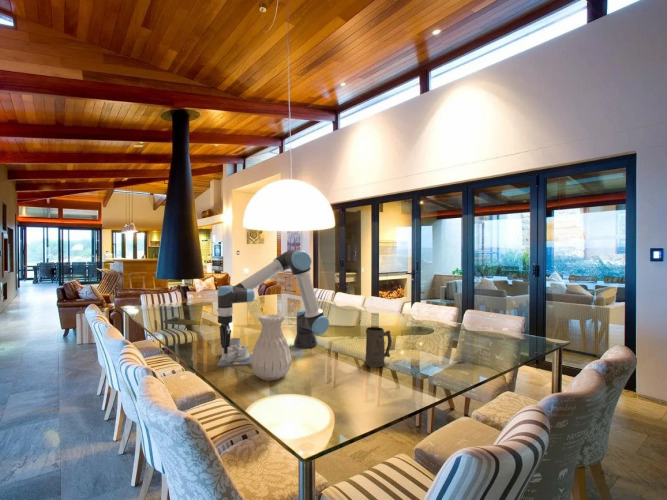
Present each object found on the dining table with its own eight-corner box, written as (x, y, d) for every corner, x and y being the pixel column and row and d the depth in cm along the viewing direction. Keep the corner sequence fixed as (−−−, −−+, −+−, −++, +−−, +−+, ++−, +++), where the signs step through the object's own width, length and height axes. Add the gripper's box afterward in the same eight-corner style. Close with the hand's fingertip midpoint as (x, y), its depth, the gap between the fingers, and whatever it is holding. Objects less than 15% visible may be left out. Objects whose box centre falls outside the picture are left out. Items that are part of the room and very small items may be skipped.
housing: (257, 355, 213) (257, 342, 213) (254, 365, 195) (254, 351, 195) (222, 356, 210) (222, 344, 210) (216, 366, 192) (216, 352, 192)
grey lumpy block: (232, 351, 209) (232, 344, 209) (250, 351, 208) (250, 345, 208) (217, 362, 188) (217, 354, 188) (237, 362, 187) (237, 355, 187)
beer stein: (370, 368, 190) (373, 330, 191) (360, 362, 200) (362, 326, 200) (394, 366, 197) (396, 329, 198) (382, 360, 207) (385, 325, 207)
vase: (273, 387, 164) (273, 322, 164) (242, 379, 175) (242, 317, 174) (299, 374, 181) (299, 315, 181) (270, 367, 192) (270, 311, 191)
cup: (239, 356, 212) (239, 341, 212) (222, 356, 212) (222, 340, 212) (242, 352, 219) (242, 337, 219) (226, 352, 219) (226, 337, 219)
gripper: (214, 313, 195) (214, 357, 195) (221, 317, 184) (221, 363, 184) (228, 312, 199) (228, 354, 199) (236, 316, 188) (235, 361, 188)
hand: (225, 359), depth 192 cm, fingers closed
